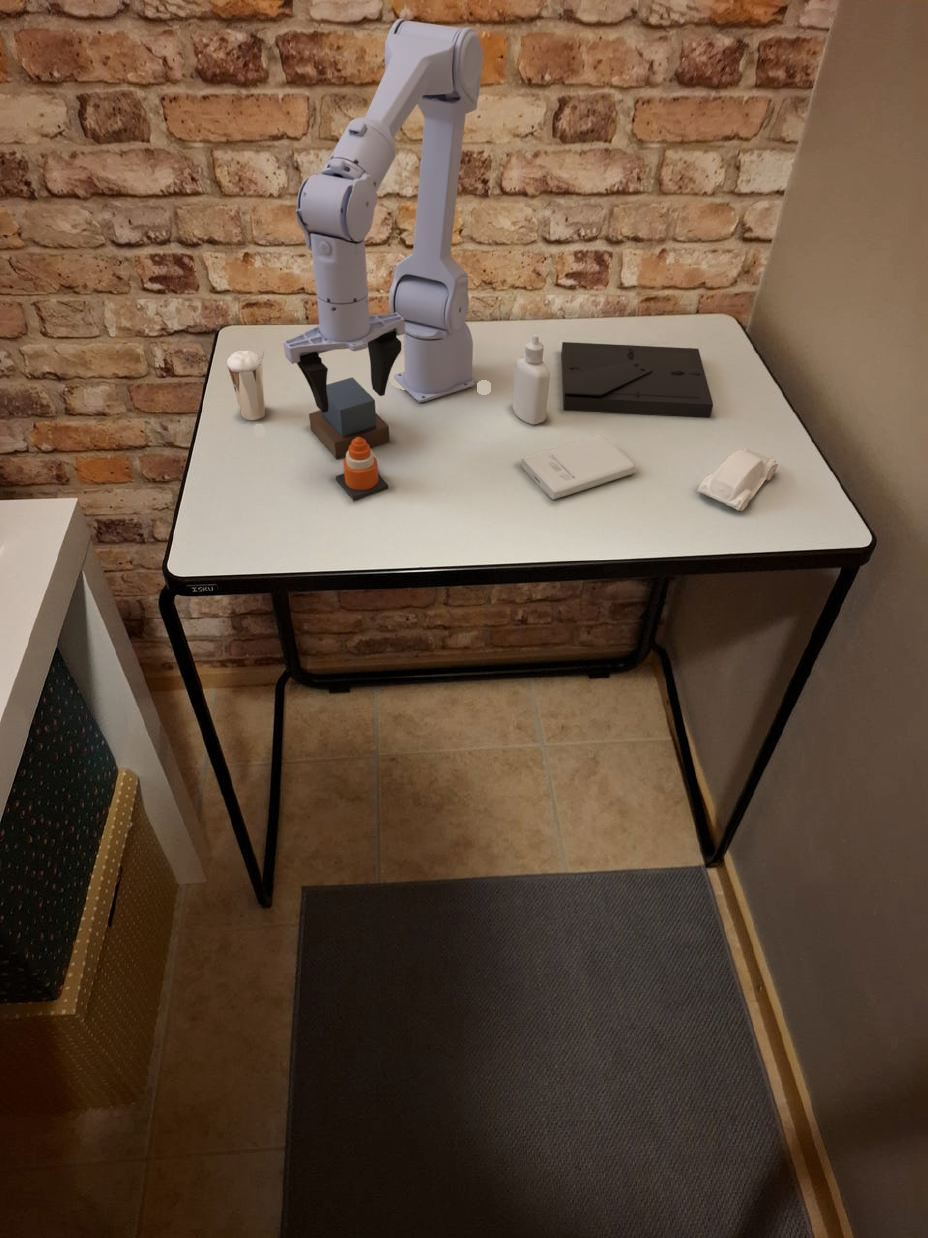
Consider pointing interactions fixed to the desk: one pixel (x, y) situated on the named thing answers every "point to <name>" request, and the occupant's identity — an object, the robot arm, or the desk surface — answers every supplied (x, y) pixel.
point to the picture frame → (634, 380)
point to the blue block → (350, 407)
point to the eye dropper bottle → (531, 384)
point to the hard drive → (577, 466)
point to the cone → (361, 471)
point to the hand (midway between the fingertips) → (350, 399)
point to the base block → (341, 444)
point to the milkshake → (248, 383)
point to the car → (738, 478)
